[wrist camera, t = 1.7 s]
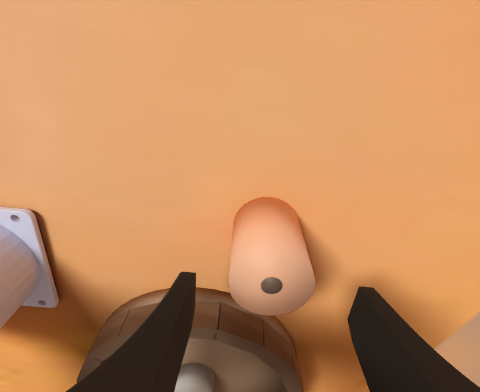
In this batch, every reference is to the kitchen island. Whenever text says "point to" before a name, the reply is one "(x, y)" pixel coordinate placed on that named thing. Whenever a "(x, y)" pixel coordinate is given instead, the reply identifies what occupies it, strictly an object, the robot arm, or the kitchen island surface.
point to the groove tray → (212, 345)
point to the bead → (269, 259)
